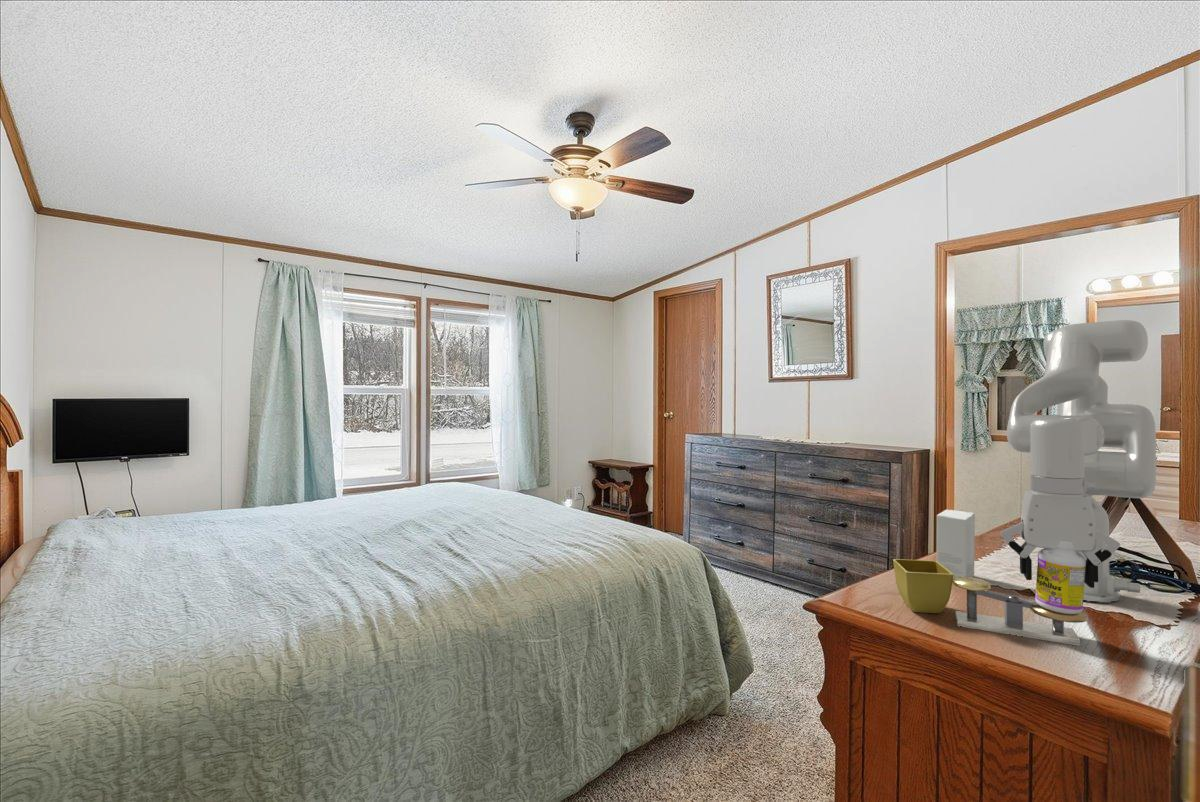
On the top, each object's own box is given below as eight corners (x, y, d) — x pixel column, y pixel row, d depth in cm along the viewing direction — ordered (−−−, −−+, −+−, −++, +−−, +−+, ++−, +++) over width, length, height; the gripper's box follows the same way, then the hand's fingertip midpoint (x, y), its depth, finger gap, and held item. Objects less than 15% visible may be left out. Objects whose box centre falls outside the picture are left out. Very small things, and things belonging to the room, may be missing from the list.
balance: (1080, 633, 100) (1080, 589, 100) (1093, 651, 93) (1093, 604, 93) (952, 613, 110) (951, 573, 110) (955, 628, 103) (954, 585, 103)
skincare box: (946, 570, 137) (945, 508, 137) (977, 576, 132) (976, 512, 132) (935, 578, 131) (934, 514, 131) (967, 584, 126) (966, 518, 126)
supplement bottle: (1025, 600, 102) (1029, 533, 101) (1058, 600, 103) (1062, 533, 102) (1058, 616, 95) (1062, 543, 95) (1093, 615, 96) (1097, 543, 95)
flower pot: (955, 619, 108) (954, 573, 108) (906, 616, 110) (906, 571, 109) (936, 602, 116) (936, 560, 116) (892, 599, 118) (892, 558, 118)
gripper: (1113, 486, 98) (1114, 582, 98) (995, 480, 106) (996, 569, 106) (1128, 492, 91) (1129, 596, 91) (1001, 486, 100) (1002, 580, 100)
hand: (1057, 581), depth 99 cm, fingers open, 8 cm apart
